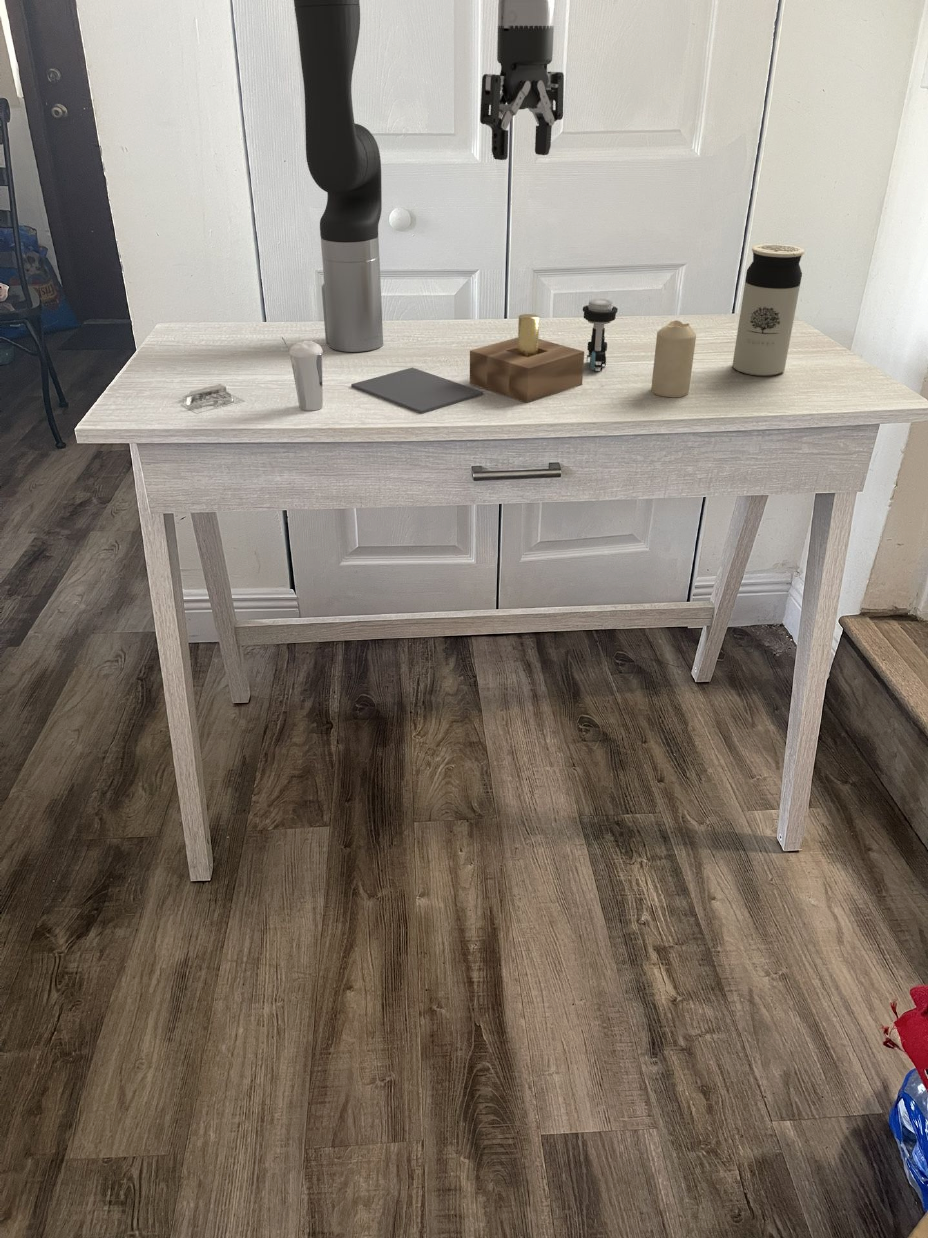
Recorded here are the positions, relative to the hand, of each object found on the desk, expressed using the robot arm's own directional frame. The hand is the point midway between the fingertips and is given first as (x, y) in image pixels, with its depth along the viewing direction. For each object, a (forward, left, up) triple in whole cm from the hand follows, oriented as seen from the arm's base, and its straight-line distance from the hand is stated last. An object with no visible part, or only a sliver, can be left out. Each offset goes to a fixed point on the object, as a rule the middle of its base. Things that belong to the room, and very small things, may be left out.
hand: (521, 156), depth 135 cm
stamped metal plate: (-18, -45, -31) cm, 57 cm away
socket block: (+8, -6, -30) cm, 32 cm away
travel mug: (+28, +26, -30) cm, 49 cm away
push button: (+10, +8, -30) cm, 33 cm away
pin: (+8, -6, -30) cm, 32 cm away
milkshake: (-6, -36, -30) cm, 47 cm away
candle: (+25, +7, -30) cm, 40 cm away
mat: (-1, -20, -30) cm, 36 cm away
